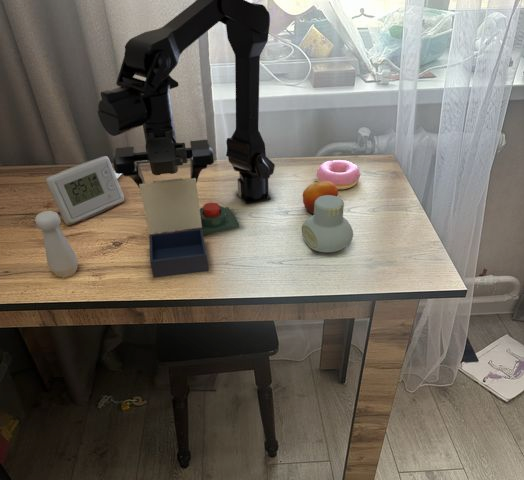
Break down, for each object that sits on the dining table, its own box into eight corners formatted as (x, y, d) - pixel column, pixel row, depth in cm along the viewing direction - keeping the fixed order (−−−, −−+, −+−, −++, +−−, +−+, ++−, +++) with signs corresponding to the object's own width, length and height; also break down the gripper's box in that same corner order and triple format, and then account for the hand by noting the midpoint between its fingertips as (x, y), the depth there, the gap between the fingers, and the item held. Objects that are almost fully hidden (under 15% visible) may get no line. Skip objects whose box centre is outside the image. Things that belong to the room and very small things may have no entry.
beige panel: (195, 178, 99) (194, 170, 102) (138, 184, 97) (139, 176, 100) (201, 227, 106) (200, 218, 109) (148, 233, 104) (148, 224, 107)
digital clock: (65, 229, 115) (51, 186, 107) (52, 211, 120) (38, 169, 112) (131, 208, 121) (122, 166, 113) (116, 192, 126) (107, 150, 118)
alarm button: (217, 208, 115) (216, 201, 113) (222, 215, 112) (221, 208, 111) (202, 211, 114) (201, 204, 113) (206, 218, 111) (205, 211, 110)
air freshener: (297, 237, 110) (298, 194, 103) (330, 227, 112) (333, 185, 105) (321, 262, 103) (324, 219, 96) (356, 252, 105) (361, 209, 98)
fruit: (319, 219, 112) (310, 183, 110) (302, 222, 119) (294, 188, 117) (349, 210, 115) (341, 174, 112) (331, 213, 122) (323, 180, 120)
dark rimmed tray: (208, 271, 102) (206, 254, 99) (153, 278, 100) (150, 261, 98) (204, 244, 109) (202, 228, 106) (152, 250, 108) (149, 234, 105)
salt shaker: (55, 264, 105) (33, 207, 96) (82, 262, 105) (64, 205, 96) (49, 281, 101) (26, 223, 91) (78, 279, 101) (58, 221, 92)
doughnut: (320, 170, 133) (321, 154, 130) (362, 174, 130) (364, 158, 128) (311, 189, 125) (312, 173, 122) (356, 194, 123) (358, 178, 120)
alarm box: (228, 211, 119) (227, 199, 117) (239, 228, 113) (238, 216, 111) (187, 219, 116) (185, 208, 114) (196, 237, 111) (194, 225, 109)
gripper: (103, 140, 86) (123, 222, 97) (212, 130, 88) (220, 211, 99) (106, 116, 93) (124, 195, 104) (206, 108, 95) (214, 185, 106)
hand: (170, 197), depth 103 cm, fingers open, 9 cm apart
